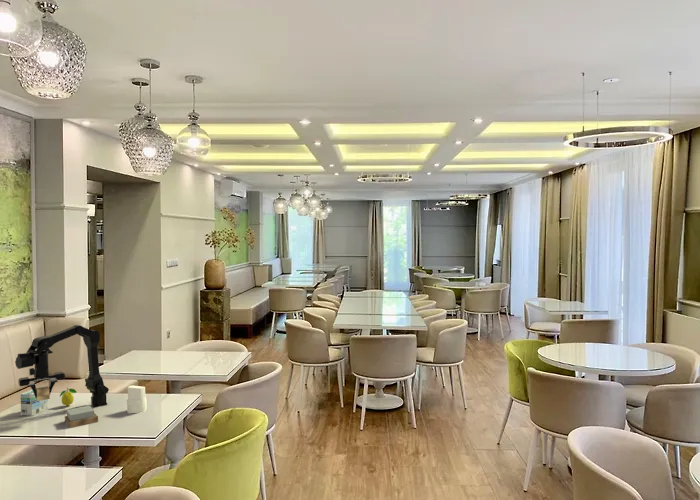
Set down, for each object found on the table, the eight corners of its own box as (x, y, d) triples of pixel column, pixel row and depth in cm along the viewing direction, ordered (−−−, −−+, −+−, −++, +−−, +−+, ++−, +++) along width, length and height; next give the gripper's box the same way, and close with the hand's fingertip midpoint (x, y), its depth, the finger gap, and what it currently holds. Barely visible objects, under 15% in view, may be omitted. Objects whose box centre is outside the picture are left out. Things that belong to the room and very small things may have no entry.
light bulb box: (31, 416, 256) (31, 394, 255) (20, 415, 257) (19, 393, 257) (48, 409, 266) (47, 388, 266) (37, 408, 267) (36, 387, 267)
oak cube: (47, 396, 251) (47, 386, 251) (49, 398, 247) (49, 388, 247) (35, 398, 248) (35, 388, 247) (37, 401, 244) (37, 390, 244)
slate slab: (90, 411, 253) (89, 405, 253) (94, 416, 245) (94, 410, 245) (66, 416, 247) (66, 410, 247) (70, 421, 239) (70, 415, 239)
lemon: (77, 405, 271) (76, 386, 271) (66, 408, 266) (65, 389, 266) (70, 403, 274) (69, 384, 274) (59, 406, 270) (58, 387, 269)
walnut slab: (92, 416, 254) (92, 410, 254) (98, 423, 245) (97, 416, 245) (64, 422, 247) (64, 416, 247) (69, 429, 238) (69, 422, 238)
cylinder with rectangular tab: (123, 412, 258) (122, 388, 257) (137, 407, 266) (136, 383, 266) (137, 414, 254) (136, 390, 254) (150, 408, 263) (149, 385, 262)
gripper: (60, 358, 259) (61, 389, 259) (16, 364, 247) (17, 396, 248) (64, 361, 250) (65, 394, 251) (19, 368, 239) (20, 402, 239)
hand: (42, 396), depth 247 cm, fingers closed on oak cube, 5 cm apart
